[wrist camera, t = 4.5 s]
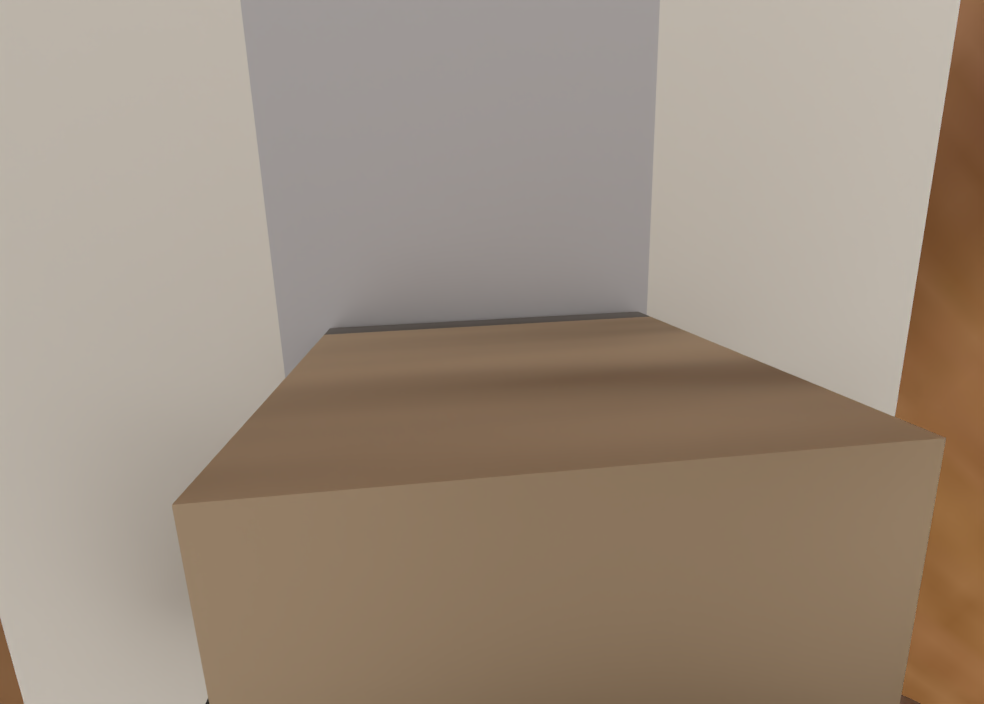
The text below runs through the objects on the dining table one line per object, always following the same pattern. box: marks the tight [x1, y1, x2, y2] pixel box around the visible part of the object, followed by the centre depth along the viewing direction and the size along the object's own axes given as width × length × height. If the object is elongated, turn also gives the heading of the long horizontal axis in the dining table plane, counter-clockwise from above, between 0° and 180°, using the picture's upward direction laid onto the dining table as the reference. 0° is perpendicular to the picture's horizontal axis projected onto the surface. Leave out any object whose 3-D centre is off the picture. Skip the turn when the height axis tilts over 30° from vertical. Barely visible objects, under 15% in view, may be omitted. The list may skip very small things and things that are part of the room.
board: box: [0, 0, 960, 704], centre depth 11 cm, size 26×16×1 cm, turn 1°
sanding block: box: [172, 312, 946, 704], centre depth 7 cm, size 9×5×6 cm, turn 2°
